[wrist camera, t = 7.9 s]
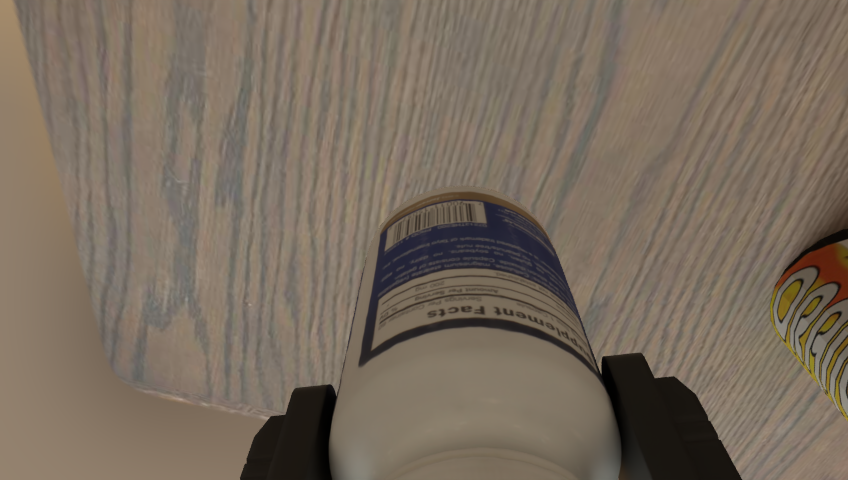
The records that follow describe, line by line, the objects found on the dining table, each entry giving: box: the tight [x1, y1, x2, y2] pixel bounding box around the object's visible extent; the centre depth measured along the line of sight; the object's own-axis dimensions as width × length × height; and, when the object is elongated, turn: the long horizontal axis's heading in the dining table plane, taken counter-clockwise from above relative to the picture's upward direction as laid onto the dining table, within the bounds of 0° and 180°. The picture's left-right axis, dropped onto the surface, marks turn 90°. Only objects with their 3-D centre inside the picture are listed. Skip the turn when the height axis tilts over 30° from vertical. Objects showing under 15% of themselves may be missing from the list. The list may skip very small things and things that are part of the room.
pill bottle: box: [329, 186, 622, 480], centre depth 13 cm, size 5×5×10 cm
